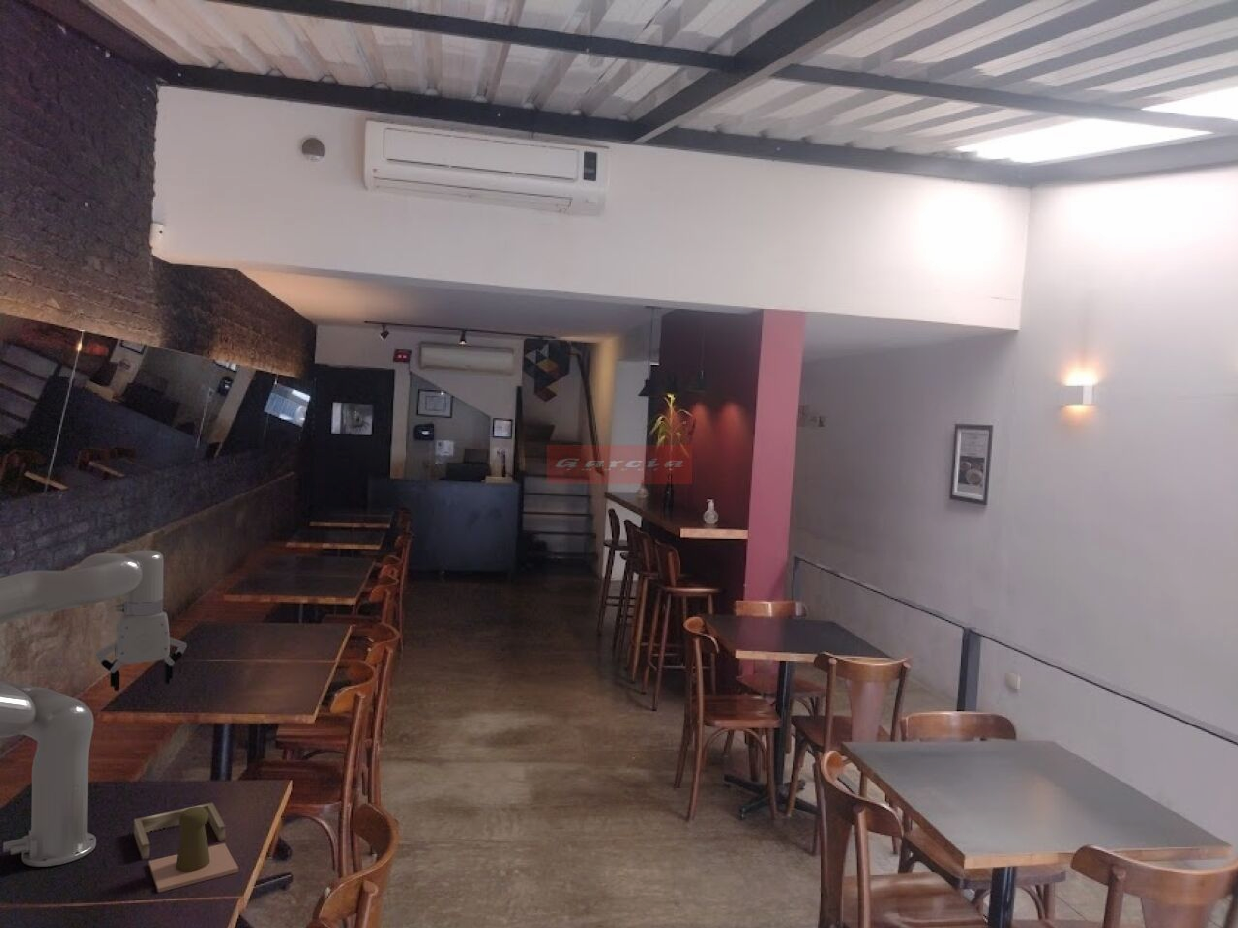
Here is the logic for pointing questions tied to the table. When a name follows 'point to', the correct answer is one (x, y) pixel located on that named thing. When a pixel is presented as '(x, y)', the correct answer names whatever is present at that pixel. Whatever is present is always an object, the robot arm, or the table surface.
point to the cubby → (172, 820)
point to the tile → (172, 878)
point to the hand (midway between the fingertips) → (141, 685)
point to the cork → (193, 840)
